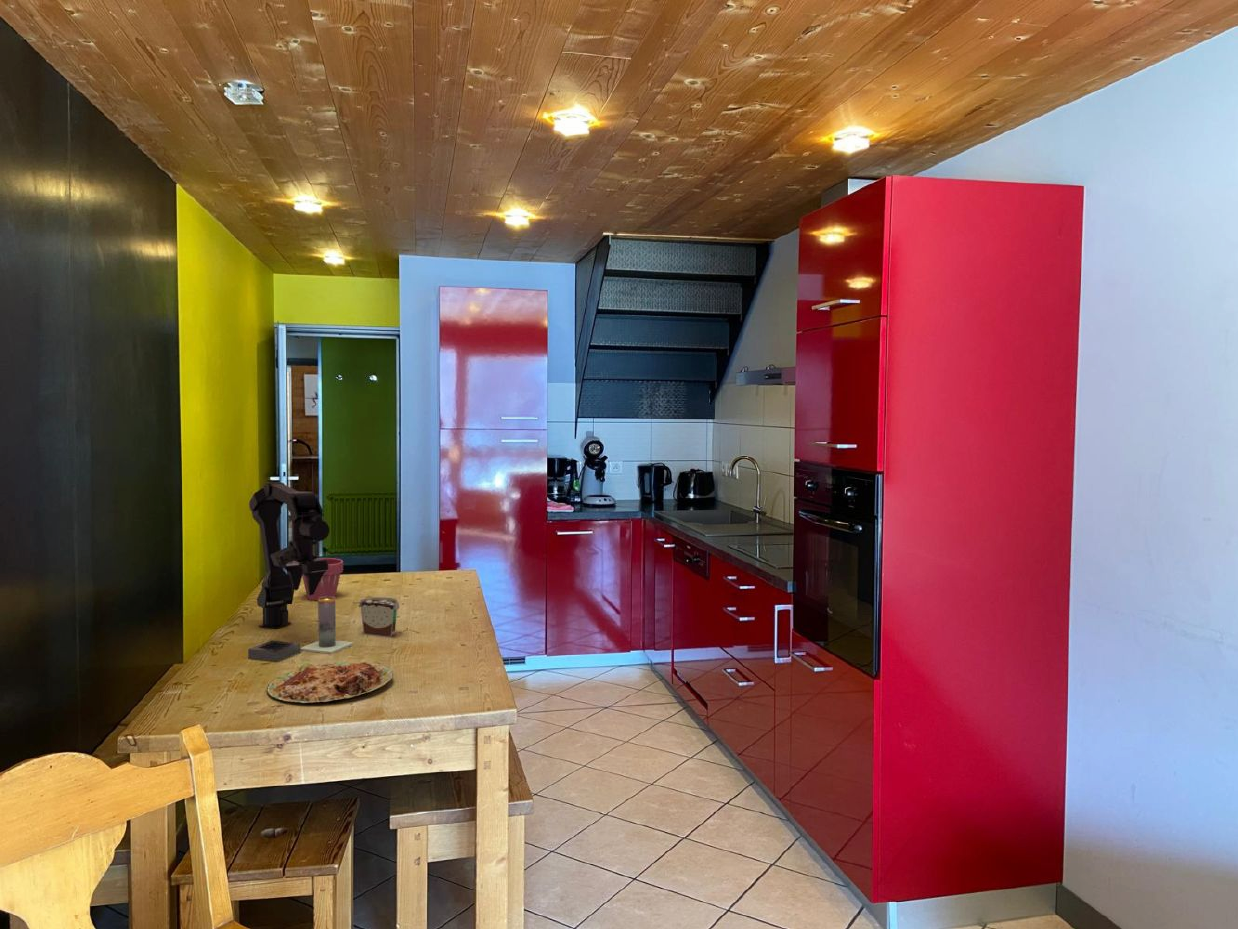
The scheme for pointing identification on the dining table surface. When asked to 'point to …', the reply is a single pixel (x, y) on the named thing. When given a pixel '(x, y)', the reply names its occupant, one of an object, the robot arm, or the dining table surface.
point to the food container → (379, 616)
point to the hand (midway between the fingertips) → (303, 592)
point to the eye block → (274, 650)
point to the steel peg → (327, 621)
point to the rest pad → (315, 647)
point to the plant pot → (327, 580)
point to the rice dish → (329, 681)
